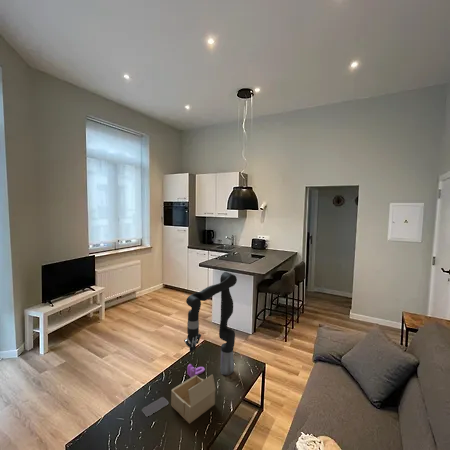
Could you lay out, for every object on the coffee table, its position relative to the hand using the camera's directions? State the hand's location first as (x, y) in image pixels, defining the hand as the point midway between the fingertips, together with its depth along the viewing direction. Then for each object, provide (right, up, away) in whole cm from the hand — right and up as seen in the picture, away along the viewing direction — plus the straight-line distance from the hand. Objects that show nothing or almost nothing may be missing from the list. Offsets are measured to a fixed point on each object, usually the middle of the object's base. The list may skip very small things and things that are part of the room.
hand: (192, 350), depth 168 cm
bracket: (0, -26, +19) cm, 32 cm away
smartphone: (-21, -28, -14) cm, 38 cm away
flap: (+8, -14, -18) cm, 24 cm away
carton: (+2, -28, -12) cm, 30 cm away
